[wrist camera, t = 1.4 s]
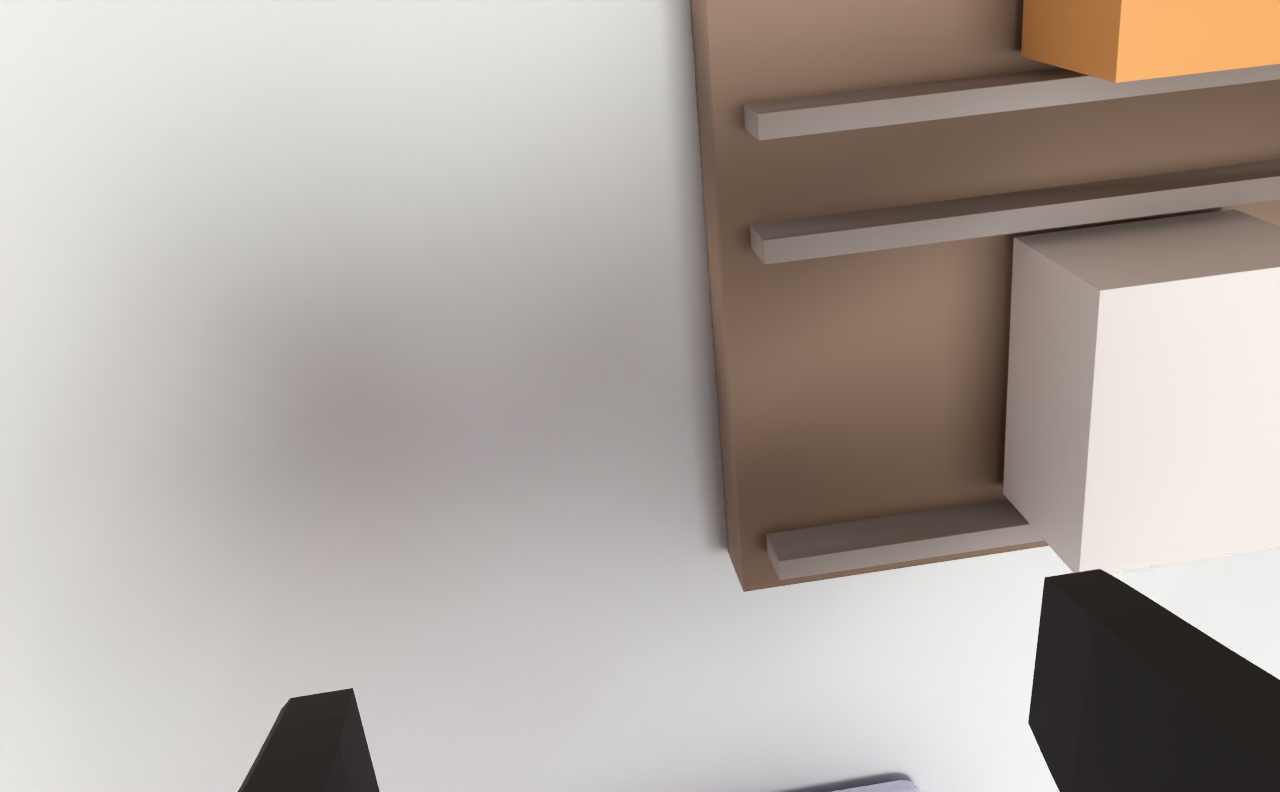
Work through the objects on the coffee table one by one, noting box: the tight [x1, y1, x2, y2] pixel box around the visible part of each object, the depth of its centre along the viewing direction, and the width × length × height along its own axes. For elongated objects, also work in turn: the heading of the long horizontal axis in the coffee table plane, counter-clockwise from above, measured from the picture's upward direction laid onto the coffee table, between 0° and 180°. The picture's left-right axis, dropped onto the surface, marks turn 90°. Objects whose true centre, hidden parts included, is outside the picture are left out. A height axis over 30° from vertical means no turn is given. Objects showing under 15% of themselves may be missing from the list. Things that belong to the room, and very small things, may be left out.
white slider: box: [1003, 209, 1280, 574], centre depth 20 cm, size 5×4×3 cm
